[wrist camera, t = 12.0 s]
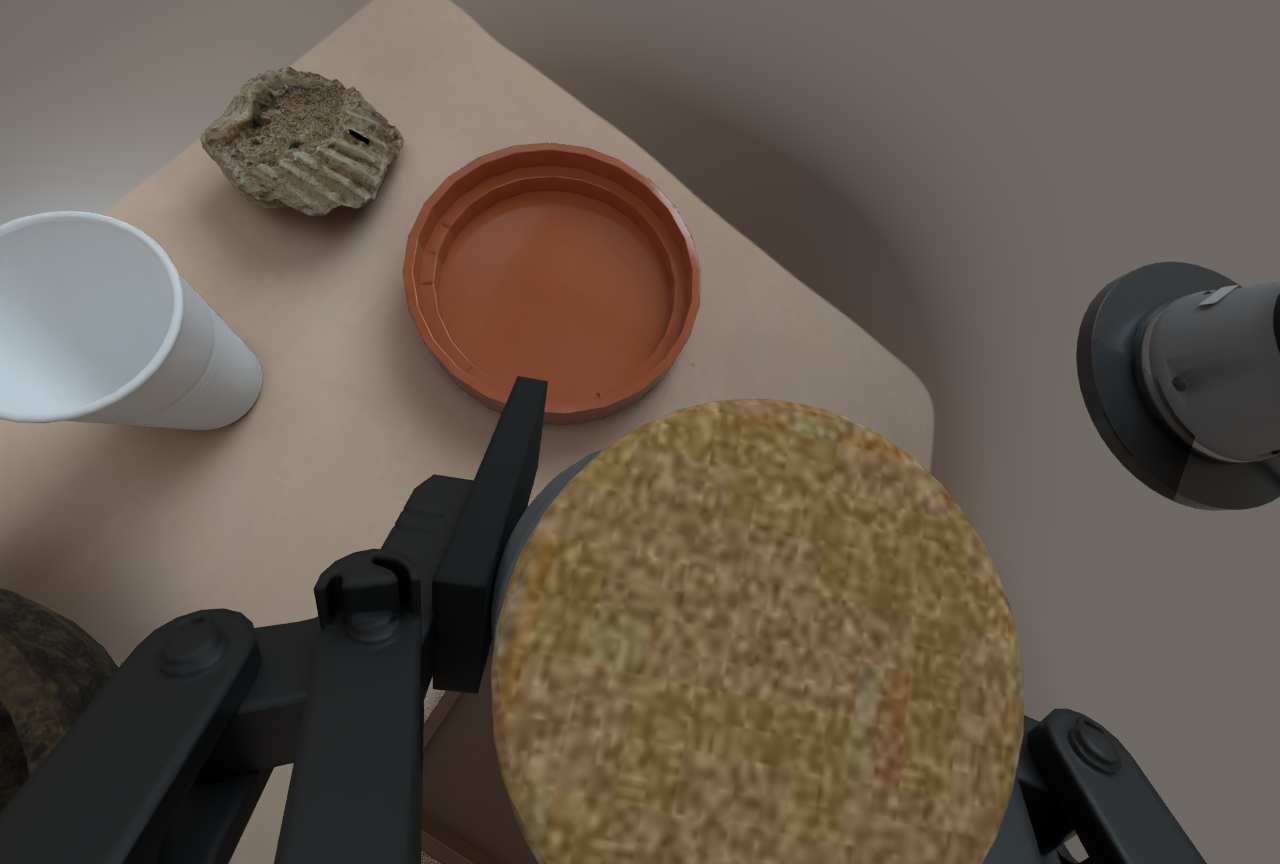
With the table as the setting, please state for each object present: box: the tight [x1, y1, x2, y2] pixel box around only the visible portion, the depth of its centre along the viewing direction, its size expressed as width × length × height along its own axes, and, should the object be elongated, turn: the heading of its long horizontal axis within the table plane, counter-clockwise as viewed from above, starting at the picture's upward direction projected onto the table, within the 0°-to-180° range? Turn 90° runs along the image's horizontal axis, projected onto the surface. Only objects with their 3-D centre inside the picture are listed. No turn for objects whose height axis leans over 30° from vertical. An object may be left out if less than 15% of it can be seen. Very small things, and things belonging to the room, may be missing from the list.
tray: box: [421, 641, 539, 864], centre depth 32 cm, size 22×16×2 cm
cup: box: [0, 211, 262, 430], centre depth 29 cm, size 10×10×11 cm
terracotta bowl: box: [403, 143, 701, 424], centre depth 37 cm, size 19×19×4 cm
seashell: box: [201, 67, 404, 216], centre depth 35 cm, size 11×7×10 cm
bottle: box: [491, 399, 1024, 864], centre depth 12 cm, size 6×6×15 cm
